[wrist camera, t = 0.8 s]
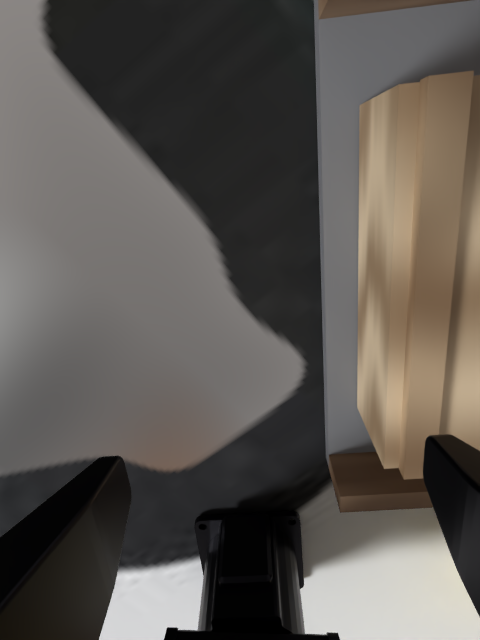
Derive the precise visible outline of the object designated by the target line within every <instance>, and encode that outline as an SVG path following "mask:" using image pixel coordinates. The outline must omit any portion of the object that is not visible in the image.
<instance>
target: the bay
mask: <svg viewBox="0 0 480 640" xmlns="http://www.w3.org/2000/svg"><path fill="white" fill-rule="evenodd" d="M314 22H315V60H316V98H317V136H318V174H319V212H320V250H321V288H322V326H323V364H324V402H325V440H326V459H327V463H328V467H329V471H330V475H331V478H332V482H333V486H334V490H335V494H336V498H337V502H338V506H339V509H340V513H341V512H359V511H377V510H395V509H413V508H432V507H433V505H432V502H431V500H430V497H429V494H428V492H427V489H426V486H425V483H424V479H423V478H421V479H403V477H402V475H401V472H400V470H399V468H389V469H384V468H383V465H382V463H381V461H380V458H379V456H378V454H377V452H376V449H375V447H374V445H373V442H372V440H371V438H370V436H369V433H368V431H367V429H366V426H365V424H364V422H363V420H362V417H361V415H360V413H359V410H358V408H357V365H358V238H359V112H360V105H361V104H363V103H364V102H366V101H368V100H370V99H372V98H374V97H376V96H378V95H380V94H382V93H383V92H385V91H387V90H389V89H391V88H393V87H395V86H397V85H399V84H406V83H415V82H420V80H421V79H423V78H425V77H427V76H431V75H440V74H448V73H457V72H466V71H474V74H473V76H476V75H480V0H314Z"/></svg>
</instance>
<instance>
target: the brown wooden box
mask: <svg viewBox="0 0 480 640" xmlns="http://www.w3.org/2000/svg"><path fill="white" fill-rule="evenodd" d="M473 74H474V71H466V72H457V73H448V74H440V75H431V76H427V77H425V78H423V79H421V80H420V82H415V83H406V84H399V85H397V86H395V87H393V88H391V89H389V90H387V91H385V92H383V93H382V94H380V95H378V96H376V97H374V98H372V99H370V100H368V101H366V102H364V103H363V104H361V105H360V112H359V238H358V365H357V408H358V410H359V413H360V415H361V417H362V420H363V422H364V424H365V426H366V429H367V431H368V433H369V436H370V438H371V440H372V442H373V445H374V447H375V449H376V452H377V454H378V456H379V458H380V461H381V463H382V465H383V468H384V469H389V468H399V470H400V472H401V475H402V477H403V479H421V478H423V461H424V448H425V441H426V438H427V437H428V436H429V435H440V434H451V435H453V436H455V437H457V438H459V439H460V440H462V441H464V442H466V443H467V444H469V445H471V446H473V447H474V448H476V449H478V450H480V75H476V76H473Z"/></svg>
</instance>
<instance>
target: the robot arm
mask: <svg viewBox="0 0 480 640" xmlns="http://www.w3.org/2000/svg"><path fill="white" fill-rule="evenodd" d="M423 479H424V483H425V486H426V489H427V492H428V494H429V497H430V500H431V502H432V505H433V508H434V510H435V513H436V516H437V518H438V521H439V524H440V526H441V529H442V532H443V535H444V537H445V540H446V543H447V545H448V548H449V551H450V553H451V556H452V558H453V561H454V563H455V566H456V568H457V571H458V573H459V575H460V577H461V579H462V582H463V584H464V586H465V588H466V590H467V592H468V594H469V596H470V598H471V600H472V602H473V604H474V606H475V608H476V610H477V612H478V614H479V616H480V450H478V449H476V448H474V447H473V446H471V445H469V444H467V443H466V442H464V441H462V440H460V439H459V438H457V437H455V436H453V435H451V434H440V435H429V436H428V437H427V438H426V441H425V448H424V461H423ZM130 505H131V487H130V483H129V479H128V475H127V471H126V467H125V463H124V460H123V459H122V457H120V456H105V457H100V458H98V459H96V460H95V461H94V462H93V463H91V464H90V465H89V466H88V467H86V468H85V469H84V470H83V471H82V472H80V473H79V474H78V475H77V476H75V477H74V478H73V479H72V480H70V481H69V482H68V483H67V484H65V485H64V486H63V487H62V488H60V489H59V490H58V491H57V492H56V493H54V494H53V495H52V496H51V497H49V498H48V499H47V500H46V501H44V502H43V503H42V504H41V505H39V506H38V507H37V508H36V509H34V510H33V511H32V512H31V513H30V514H28V515H27V516H26V517H25V518H23V519H22V520H21V521H20V522H18V523H17V524H16V525H15V526H13V527H12V528H11V529H10V530H8V531H7V532H6V533H5V534H3V535H2V536H1V537H0V640H99V637H100V633H101V630H102V627H103V623H104V620H105V617H106V613H107V610H108V607H109V603H110V600H111V596H112V593H113V589H114V585H115V581H116V576H117V572H118V566H119V561H120V556H121V551H122V546H123V541H124V535H125V530H126V525H127V520H128V515H129V510H130ZM290 519H293V520H290ZM202 524H205V525H202ZM195 532H196V538H197V543H198V548H199V554H200V559H201V564H202V570H203V575H204V579H203V588H202V597H201V606H200V615H199V624H198V631H195V630H178V628H169V627H168V628H167V630H166V634H165V638H164V640H340V639H339V635H338V633H327V635H319V634H305V629H304V621H303V612H302V603H301V595H300V589H301V588H302V587H303V586H304V578H303V561H302V544H301V527H300V517H299V514H298V513H297V512H295V511H276V512H258V513H240V514H222V515H204V516H199V517H197V518H196V520H195Z"/></svg>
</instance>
